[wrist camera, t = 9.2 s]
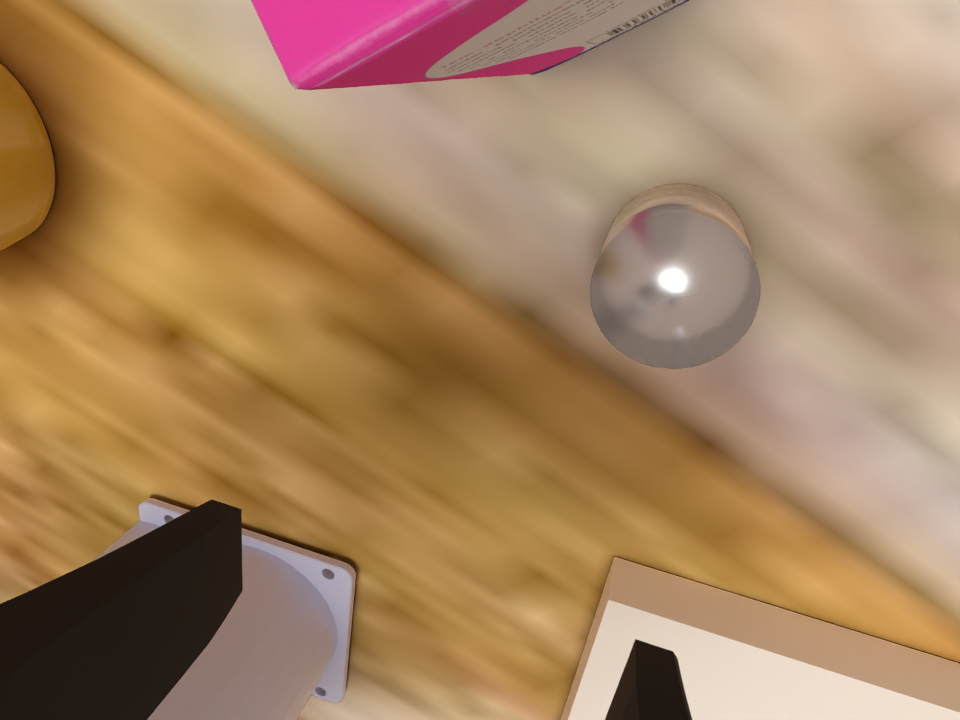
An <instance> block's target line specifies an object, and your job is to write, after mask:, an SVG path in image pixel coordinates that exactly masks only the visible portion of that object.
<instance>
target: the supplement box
mask: <svg viewBox="0 0 960 720" xmlns="http://www.w3.org/2000/svg"><path fill="white" fill-rule="evenodd" d="M251 1H252V4H253V6H254V8H255V10H256V12H257V14H258V16H259V19H260V21H261V23H262V25H263V27H264V29H265V31H266V33H267V36H268V38H269V40H270V42H271V44H272V46H273V48H274V50H275V52H276V54H277V56H278V58H279V60H280V62H281V65H282V67H283V69H284V71H285V73H286V76H287V78H288V80H289V82H290V83H291V85H292V86H293V87H294V88H295V89H303V90H316V89H330V88H345V87H359V86H372V85H386V84H402V83H413V82H426V81H441V80H449V79H464V78H478V77H491V76H509V75H521V74H532V75H533V74H536V73H539V72H543V71H546V70H548V69H550V68H552V67H554V66H557V65H559V64H561V63H563V62H565V61H567V60H570V59H572V58H574V57H576V56H578V55H580V54H582V53H584V52H586V51H588V50H590V49H593V48H595V47H597V46H599V45H601V44H603V43H605V42H607V41H609V40H611V39H613V38H615V37H617V36H619V35H621V34H623V33H625V32H627V31H629V30H631V29H633V28H635V27H637V26H639V25H641V24H643V23H645V22H647V21H649V20H651V19H653V18H655V17H657V16H659V15H661V14H663V13H665V12H667V11H669V10H671V9H673V8H675V7H677V6H679V5H681V4H683V3H684V2H686V1H688V0H251Z"/></svg>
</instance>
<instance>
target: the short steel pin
mask: <svg viewBox="0 0 960 720" xmlns="http://www.w3.org/2000/svg"><path fill="white" fill-rule="evenodd" d="M590 298H591V306H592V310H593V314H594V317H595V319H596V322H597V324H598V326H599V328H600V330H601V331H602V333H603V334H604V335H605V337H606V338H607V339H608V341H609V342H610V343H611V344H612V345H613V346H614V347H615V348H617V349H618V350H619V351H620V352H622V353H623V354H625V355H626V356H628V357H630V358H631V359H633V360H636V361H638V362H640V363H643V364H646V365H649V366H654V367H659V368H669V369H676V368H687V367H693V366H697V365H700V364H704V363H706V362H709V361H711V360H713V359H715V358H717V357H719V356H721V355H722V354H724V353H725V352H727V351H728V350H729V349H731V348H732V347H733V346H734V345H735V344H736V343H737V342H738V341H739V340H740V339H741V338H742V337H743V336H744V334H745V333H746V332H747V330H748V329H749V327H750V325H751V324H752V321H753V319H754V317H755V315H756V312H757V309H758V305H759V299H760V279H759V273H758V269H757V266H756V263H755V260H754V257H753V254H752V251H751V248H750V245H749V243H748V240H747V237H746V234H745V231H744V228H743V225H742V223H741V221H740V219H739V217H738V215H737V214H736V212H735V211H734V209H733V208H732V207H731V206H730V205H729V204H728V203H727V202H726V201H725V200H724V199H723V198H722V197H720V196H719V195H717V194H715V193H714V192H712V191H710V190H708V189H705V188H703V187H699V186H696V185H690V184H668V185H663V186H659V187H655V188H653V189H650V190H647V191H646V192H644V193H642V194H640V195H638V196H637V197H636V198H634V199H633V200H631V201H630V202H629V203H628V204H627V205H626V206H625V207H624V208H623V209H622V210H621V212H620V213H619V214H618V216H617V217H616V219H615V220H614V222H613V224H612V226H611V228H610V231H609V233H608V236H607V238H606V241H605V243H604V246H603V248H602V251H601V253H600V256H599V258H598V261H597V263H596V266H595V269H594V272H593V275H592V280H591V288H590Z"/></svg>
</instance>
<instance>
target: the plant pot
mask: <svg viewBox="0 0 960 720" xmlns="http://www.w3.org/2000/svg"><path fill="white" fill-rule="evenodd" d="M54 191H55V165H54V157H53V153H52V148H51V144H50V141H49V138H48V135H47V132H46V129H45V127H44V124H43V122H42V120H41V118H40V115H39V113H38V111H37V109H36V108H35V106H34V104H33V102H32V100H31V99H30V97H29V96H28V94H27V93H26V91H25V90H24V89H23V87H22V86H21V85H20V83H19V82H18V81H17V79H16V78H15V77H14V76H13V75H12V74H11V73H10V72H9V71H8V70H7V69H6V68H5V67H4V66H3V65H2V64H1V63H0V251H1V250H3V249H5V248H7V247H8V246H10V245H12V244H14V243H15V242H17V241H19V240H21V239H22V238H24V237H26V236H28V235H29V234H31V233H32V232H33V231H35V230H36V229H37V228H38V227H39V226H40V225H41V224H42V222H43V221H44V220H45V218H46V216H47V214H48V212H49V209H50V206H51V204H52V201H53V196H54Z"/></svg>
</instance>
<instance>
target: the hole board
mask: <svg viewBox="0 0 960 720" xmlns="http://www.w3.org/2000/svg"><path fill="white" fill-rule="evenodd" d="M635 639H637V640H640V641H643V642H646V643H649V644H652V645H655V646H658V647H661V648H664V649H667V650H670V651H673V652H674V654H675V655H676V657H677V659H678V663H679V668H680V673H681V677H682V681H683V686H684V690H685V694H686V698H687V702H688V705H689V709H690V713H691V716H692V720H960V663H957V662H953V661H950V660H947V659H944V658H941V657H937V656H934V655H931V654H928V653H924V652H921V651H918V650H915V649H911V648H908V647H905V646H902V645H899V644H895V643H892V642H889V641H886V640H882V639H879V638H876V637H873V636H869V635H866V634H863V633H860V632H857V631H853V630H850V629H847V628H844V627H840V626H837V625H834V624H831V623H827V622H824V621H821V620H818V619H814V618H811V617H808V616H805V615H802V614H798V613H795V612H792V611H789V610H785V609H782V608H779V607H776V606H772V605H769V604H766V603H763V602H760V601H756V600H753V599H750V598H747V597H743V596H740V595H737V594H734V593H730V592H727V591H724V590H721V589H718V588H714V587H711V586H708V585H705V584H701V583H698V582H695V581H692V580H688V579H685V578H682V577H679V576H676V575H672V574H669V573H666V572H663V571H659V570H656V569H653V568H650V567H646V566H643V565H640V564H637V563H634V562H630V561H627V560H624V559H621V558H617V557H614V559H613V562H612V565H611V568H610V571H609V574H608V577H607V580H606V583H605V586H604V589H603V592H602V595H601V598H600V601H599V604H598V607H597V610H596V613H595V617H594V620H593V623H592V626H591V629H590V632H589V635H588V638H587V641H586V644H585V647H584V650H583V653H582V656H581V659H580V662H579V665H578V668H577V671H576V674H575V677H574V680H573V683H572V686H571V689H570V692H569V695H568V698H567V701H566V704H565V707H564V710H563V713H562V716H561V719H560V720H605V718H606V715H607V713H608V710H609V707H610V705H611V702H612V699H613V697H614V694H615V692H616V689H617V686H618V684H619V681H620V678H621V676H622V673H623V670H624V668H625V665H626V663H627V660H628V657H629V655H630V652H631V649H632V647H633V644H634V642H635Z"/></svg>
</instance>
